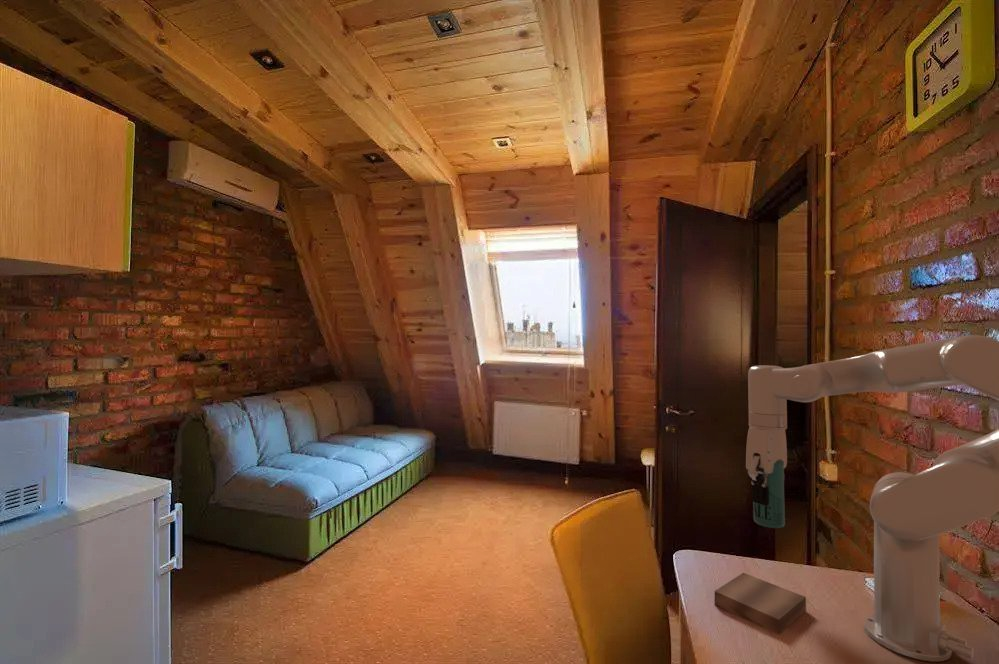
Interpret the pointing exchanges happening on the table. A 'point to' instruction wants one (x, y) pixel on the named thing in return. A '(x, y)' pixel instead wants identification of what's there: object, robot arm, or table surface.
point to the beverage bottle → (772, 500)
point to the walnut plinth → (761, 602)
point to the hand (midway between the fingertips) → (768, 499)
